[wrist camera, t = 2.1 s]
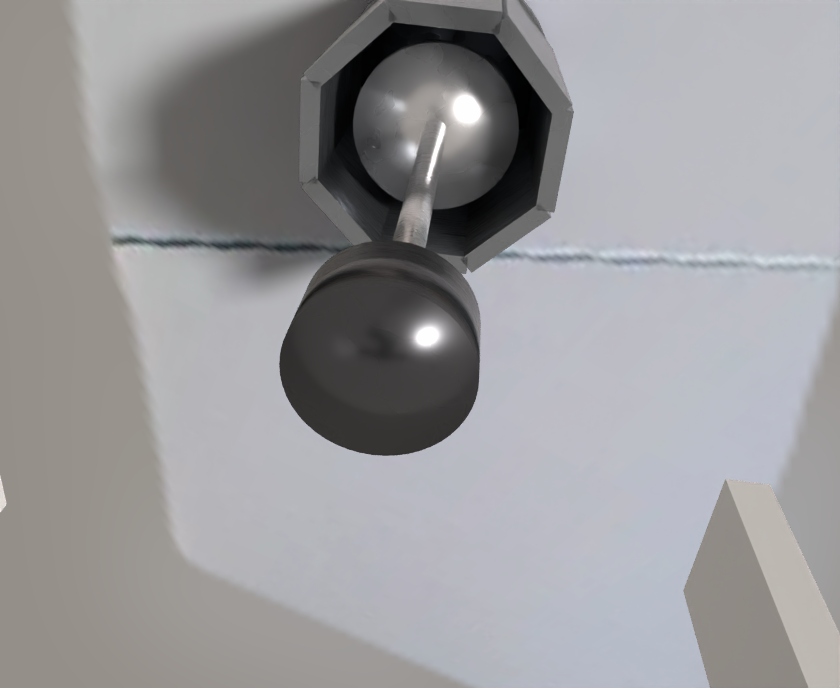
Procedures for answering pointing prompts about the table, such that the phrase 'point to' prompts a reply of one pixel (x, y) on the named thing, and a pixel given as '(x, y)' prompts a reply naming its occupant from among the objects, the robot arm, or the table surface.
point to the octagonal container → (537, 116)
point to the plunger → (404, 261)
